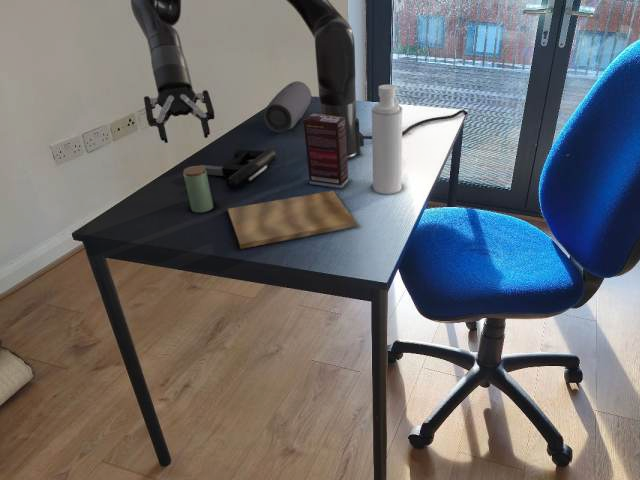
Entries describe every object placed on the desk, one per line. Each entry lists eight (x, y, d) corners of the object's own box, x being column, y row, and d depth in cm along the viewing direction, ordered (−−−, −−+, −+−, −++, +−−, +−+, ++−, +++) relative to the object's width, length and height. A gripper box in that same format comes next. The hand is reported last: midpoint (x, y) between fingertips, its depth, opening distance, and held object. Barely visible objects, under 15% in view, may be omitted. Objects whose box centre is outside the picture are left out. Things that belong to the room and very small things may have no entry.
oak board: (333, 195, 129) (333, 190, 128) (355, 226, 117) (355, 221, 116) (228, 213, 122) (227, 208, 121) (240, 249, 110) (239, 243, 109)
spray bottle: (378, 180, 135) (376, 73, 121) (404, 183, 133) (406, 76, 119) (369, 191, 130) (366, 82, 115) (396, 195, 128) (397, 84, 114)
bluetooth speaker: (286, 111, 178) (282, 78, 172) (314, 112, 177) (312, 79, 171) (263, 136, 160) (259, 101, 154) (295, 137, 159) (291, 102, 153)
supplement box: (349, 180, 135) (346, 116, 126) (341, 189, 131) (338, 123, 122) (316, 176, 137) (311, 112, 128) (308, 184, 134) (302, 118, 124)
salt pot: (212, 201, 127) (204, 163, 121) (214, 210, 123) (207, 172, 118) (190, 204, 125) (181, 167, 120) (192, 214, 121) (183, 175, 116)
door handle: (181, 173, 133) (238, 179, 128) (227, 144, 148) (280, 148, 143) (185, 186, 135) (241, 192, 130) (230, 156, 150) (282, 160, 145)
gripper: (134, 65, 119) (150, 135, 117) (202, 59, 124) (218, 126, 121) (140, 84, 126) (154, 150, 124) (204, 78, 131) (219, 142, 129)
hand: (186, 138), depth 123 cm, fingers open, 8 cm apart
